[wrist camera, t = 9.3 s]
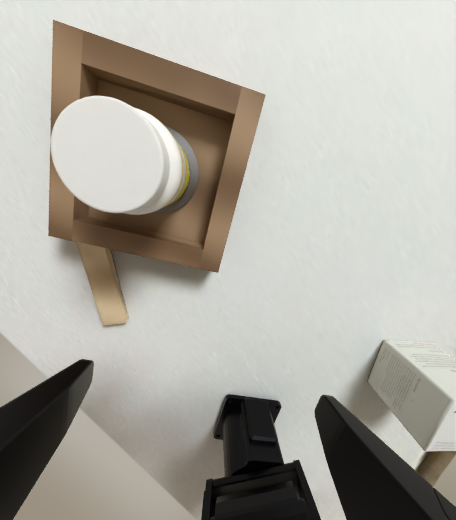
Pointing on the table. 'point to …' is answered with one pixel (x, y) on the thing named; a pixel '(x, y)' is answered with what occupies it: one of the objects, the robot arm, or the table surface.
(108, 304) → the tan wooden flat bar
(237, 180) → the holder
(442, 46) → the table surface
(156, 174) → the supplement bottle
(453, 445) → the skincare box
